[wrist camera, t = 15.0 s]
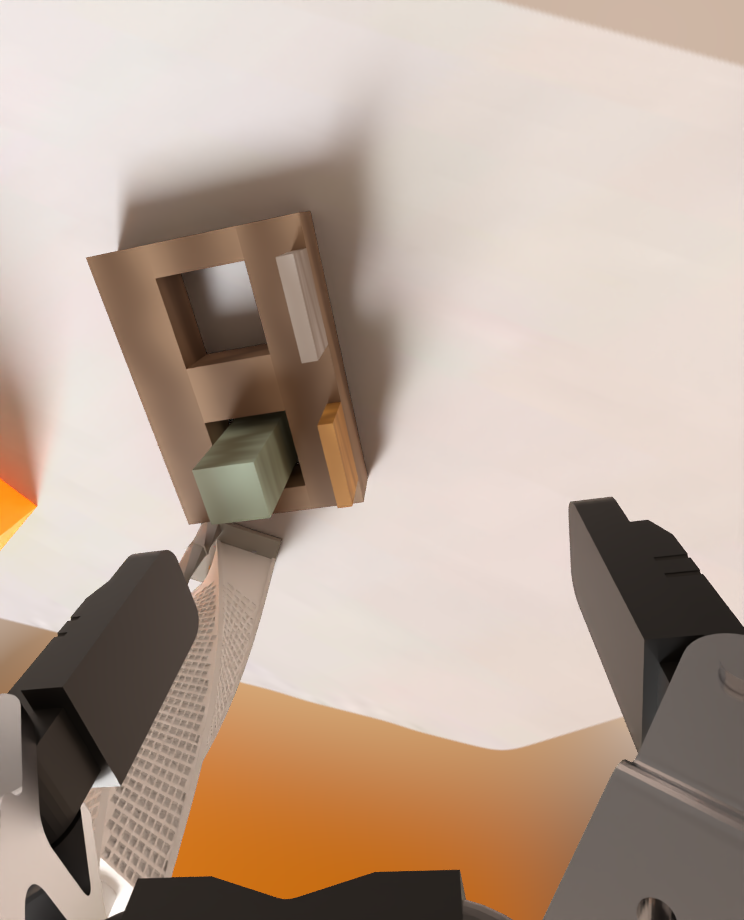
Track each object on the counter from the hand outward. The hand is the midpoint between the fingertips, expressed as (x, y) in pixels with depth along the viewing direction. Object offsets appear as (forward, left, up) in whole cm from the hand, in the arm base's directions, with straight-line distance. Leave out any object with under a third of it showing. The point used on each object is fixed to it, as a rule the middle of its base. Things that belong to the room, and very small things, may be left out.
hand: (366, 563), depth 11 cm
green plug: (+12, +8, -30) cm, 33 cm away
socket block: (+12, +3, -30) cm, 33 cm away
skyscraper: (+18, +20, -30) cm, 41 cm away
